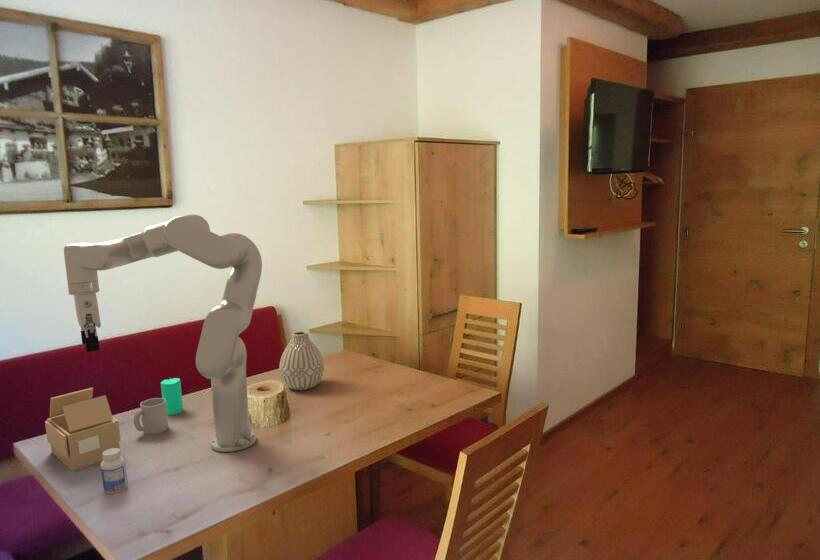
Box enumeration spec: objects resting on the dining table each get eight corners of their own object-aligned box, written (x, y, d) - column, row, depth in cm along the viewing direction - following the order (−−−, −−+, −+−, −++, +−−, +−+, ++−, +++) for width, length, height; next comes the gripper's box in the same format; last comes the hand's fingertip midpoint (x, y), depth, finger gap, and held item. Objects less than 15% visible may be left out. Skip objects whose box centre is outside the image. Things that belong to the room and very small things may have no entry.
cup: (173, 428, 185) (170, 401, 184) (141, 440, 178) (138, 411, 176) (160, 423, 190) (157, 396, 188) (129, 434, 182) (126, 406, 181)
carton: (123, 455, 168) (119, 420, 166) (70, 473, 158) (65, 437, 157) (99, 437, 181) (95, 405, 179) (48, 453, 171) (43, 419, 169)
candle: (186, 408, 202) (183, 373, 200) (177, 414, 196) (174, 379, 194) (169, 407, 203) (165, 373, 201) (160, 414, 197) (156, 379, 195)
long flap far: (91, 405, 177) (93, 388, 174) (50, 417, 169) (51, 399, 166) (90, 404, 177) (92, 387, 174) (49, 415, 170) (50, 397, 166)
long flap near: (113, 419, 166) (105, 395, 167) (70, 431, 158) (62, 406, 159) (112, 419, 166) (105, 395, 167) (69, 432, 158) (62, 406, 160)
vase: (321, 393, 212) (318, 338, 209) (276, 394, 212) (272, 339, 209) (328, 378, 228) (325, 326, 224) (286, 379, 228) (282, 328, 225)
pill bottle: (109, 483, 152) (104, 447, 150) (131, 482, 152) (127, 445, 151) (99, 494, 147) (95, 457, 145) (122, 493, 147) (118, 455, 145)
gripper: (103, 290, 164) (110, 351, 166) (94, 282, 178) (101, 338, 181) (71, 293, 160) (79, 356, 162) (65, 285, 174) (72, 343, 177)
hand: (90, 347), depth 172 cm, fingers open, 9 cm apart
